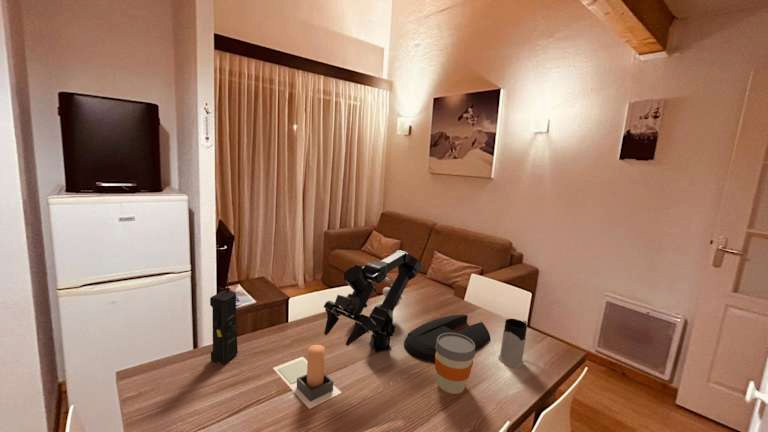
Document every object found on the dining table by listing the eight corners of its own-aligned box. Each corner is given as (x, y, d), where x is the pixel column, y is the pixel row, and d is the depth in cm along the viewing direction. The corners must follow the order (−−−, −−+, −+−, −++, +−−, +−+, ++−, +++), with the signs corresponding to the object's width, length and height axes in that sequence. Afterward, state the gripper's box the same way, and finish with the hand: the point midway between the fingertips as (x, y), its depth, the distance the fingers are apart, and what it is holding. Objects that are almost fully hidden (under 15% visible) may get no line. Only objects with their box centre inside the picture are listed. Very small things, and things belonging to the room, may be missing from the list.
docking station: (389, 341, 135) (390, 330, 134) (451, 316, 162) (452, 306, 161) (437, 373, 117) (439, 360, 116) (499, 339, 144) (500, 328, 143)
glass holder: (494, 359, 128) (499, 322, 125) (510, 346, 138) (516, 312, 135) (516, 370, 122) (523, 331, 119) (532, 356, 132) (538, 320, 129)
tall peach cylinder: (320, 381, 106) (322, 343, 104) (325, 392, 102) (327, 352, 99) (304, 385, 104) (306, 346, 102) (308, 396, 99) (310, 355, 97)
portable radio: (224, 366, 111) (224, 294, 107) (208, 363, 112) (207, 291, 108) (239, 353, 119) (239, 285, 115) (223, 350, 120) (223, 283, 116)
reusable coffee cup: (443, 367, 120) (448, 328, 118) (476, 384, 112) (482, 342, 110) (424, 384, 110) (428, 341, 108) (459, 403, 103) (465, 358, 100)
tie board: (341, 395, 102) (342, 383, 101) (309, 412, 95) (309, 399, 94) (302, 359, 119) (303, 348, 118) (272, 370, 111) (272, 359, 110)
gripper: (328, 277, 114) (302, 319, 107) (373, 293, 103) (346, 341, 96) (343, 293, 122) (319, 333, 115) (385, 309, 111) (362, 354, 104)
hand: (335, 339), depth 107 cm, fingers open, 9 cm apart
